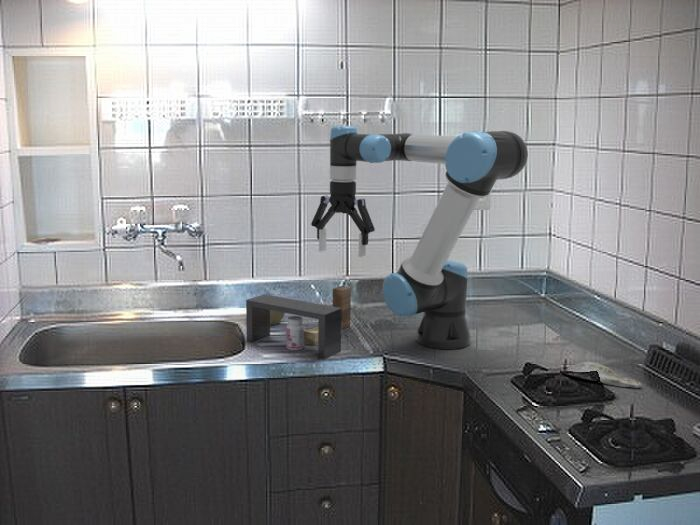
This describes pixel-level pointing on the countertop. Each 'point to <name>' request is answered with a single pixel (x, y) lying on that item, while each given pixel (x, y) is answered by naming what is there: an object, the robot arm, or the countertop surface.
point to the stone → (605, 374)
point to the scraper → (339, 300)
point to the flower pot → (276, 316)
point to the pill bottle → (295, 333)
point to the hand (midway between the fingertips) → (342, 253)
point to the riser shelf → (327, 315)
